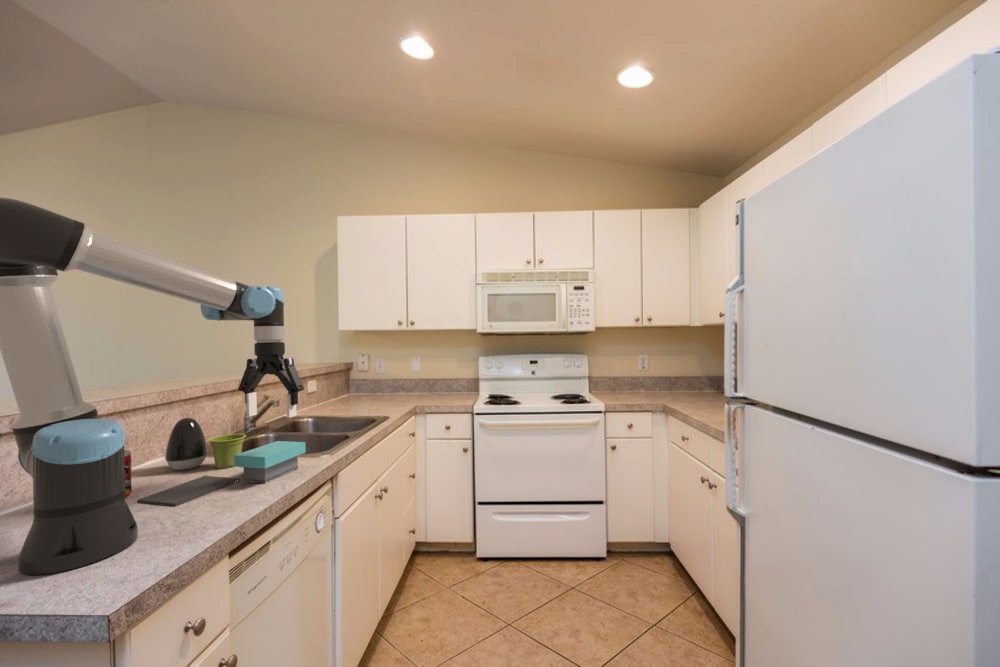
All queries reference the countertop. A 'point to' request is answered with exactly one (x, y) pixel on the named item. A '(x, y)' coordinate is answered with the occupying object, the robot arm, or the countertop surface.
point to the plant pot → (226, 449)
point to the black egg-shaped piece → (186, 445)
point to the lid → (269, 454)
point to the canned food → (127, 472)
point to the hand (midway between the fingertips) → (271, 416)
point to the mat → (187, 491)
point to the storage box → (270, 471)
